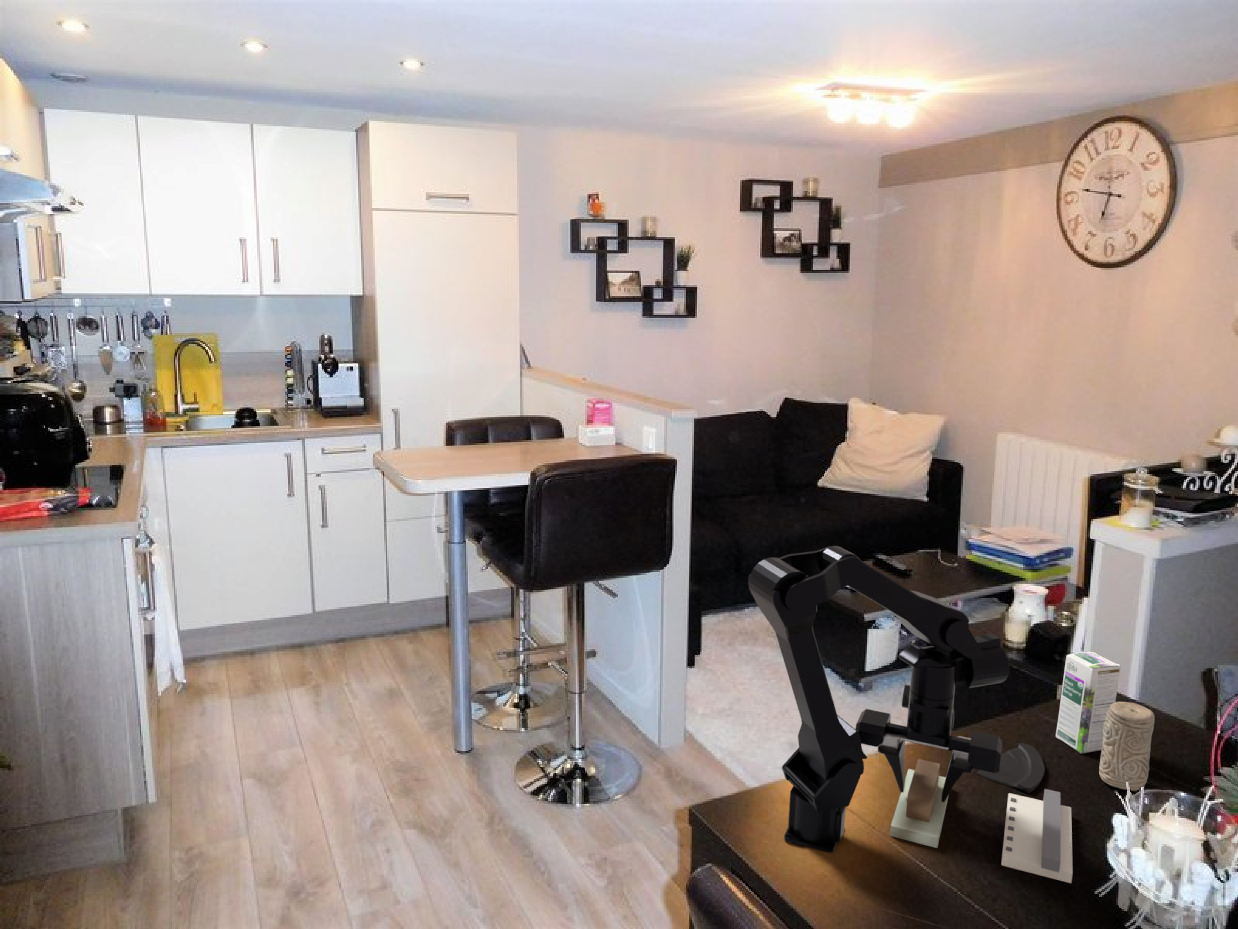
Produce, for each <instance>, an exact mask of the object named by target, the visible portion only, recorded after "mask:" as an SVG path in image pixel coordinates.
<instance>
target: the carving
mask: <svg viewBox="0 0 1238 929" xmlns="http://www.w3.org/2000/svg"><path fill="white" fill-rule="evenodd" d="M1154 727H1155V713H1154V712H1153V711H1152V710H1151V709H1149V708H1146V707H1145V706H1143V705H1141V704H1138V703H1136V702H1127V701H1115V703H1113V704H1111V706H1110V707H1109V708H1108V711H1107V712H1106V718H1105V722H1104V727H1103V741H1102V744H1103V746H1102V750H1100V751H1101V752H1100V759H1099V760H1100V761H1099V767H1098V768H1099V771H1098V773H1099V777H1100V778H1101V780H1102V781H1103V782H1104V783H1105V784H1108V785H1109V786H1112V787H1115V788H1118V789H1121V790H1125V791H1127V790H1126V782H1129V786H1130V789H1131V792H1132V791H1133V792H1138V791H1137V790H1139V788H1140V787H1144V788H1145V785H1146V784H1147V782H1148V778H1149V771H1150V757H1151V753H1150V752H1151V743H1152V737H1153V736H1152V735H1153V732H1154Z"/></svg>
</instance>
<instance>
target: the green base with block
mask: <svg viewBox="0 0 1238 929" xmlns="http://www.w3.org/2000/svg"><path fill="white" fill-rule="evenodd" d="M915 765H916V766H915V768H914V769H911V768H908V770H907V771H906V772H907V773H906V774H905V788H904V792H903V793H902V792H900V794H899V798H898V801H897V805H896V808H895V810H894V811H895V812H894V813H893V817H892V819H891V820H892V821H891V824H890V832H889V836H890V837H893V838H897V839H899V840H900V839H901V840H905V841H909V842H912V843H916V844H918V845H919V844H920V845H924V846H928V847H931V848H936V849H937V848H938V846H939V844H940V843H939V841H940V837H941V833H942V828H943V823H944V819H945V816H946V815H945V814H946V810H947V804H948V799H949V796H950V794H949V795H948V797H947V799H946V800H945V802H941V799H942V791H943V787H944V783H945V779H946V776H941V775H940V767H941V763H938V762H933V761H929V760H925V759H921V758H917V761H916V764H915Z"/></svg>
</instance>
